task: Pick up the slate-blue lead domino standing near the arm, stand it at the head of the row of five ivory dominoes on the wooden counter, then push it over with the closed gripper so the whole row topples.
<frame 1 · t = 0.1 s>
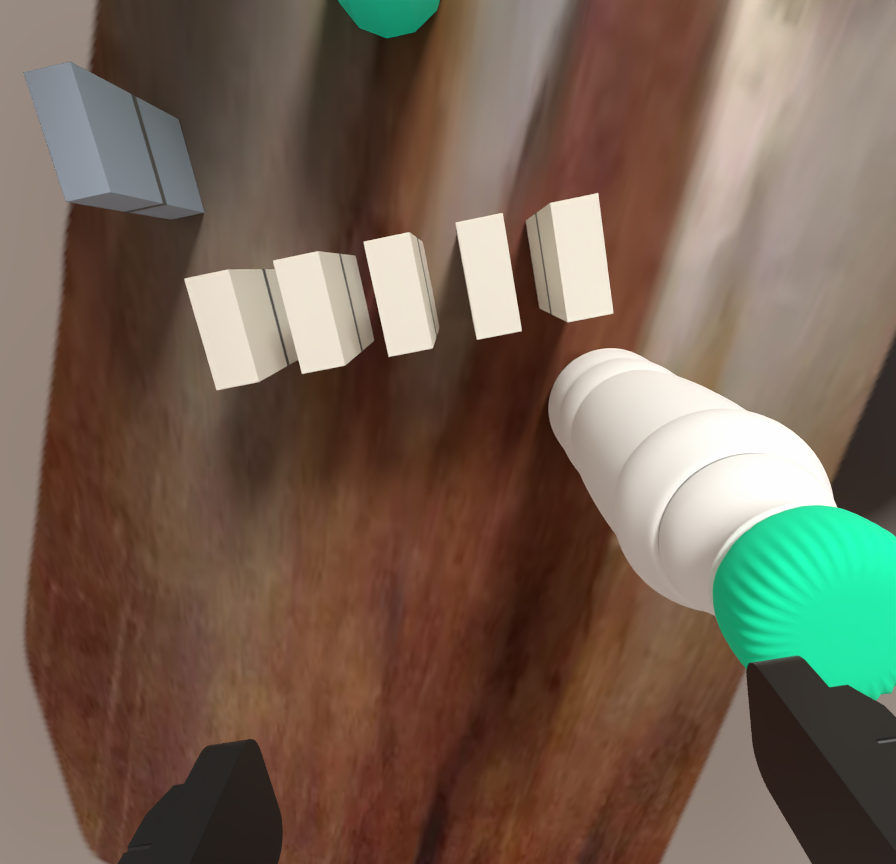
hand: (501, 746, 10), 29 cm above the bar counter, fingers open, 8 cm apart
domino 3: (348, 302, 37), on the bar counter
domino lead: (174, 170, 35), on the bar counter
domino 4: (414, 288, 37), on the bar counter
water bottle: (603, 403, 39), on the bar counter
domino 6: (549, 261, 36), on the bar counter
domino 5: (481, 275, 37), on the bar counter
domino 2: (283, 315, 37), on the bar counter
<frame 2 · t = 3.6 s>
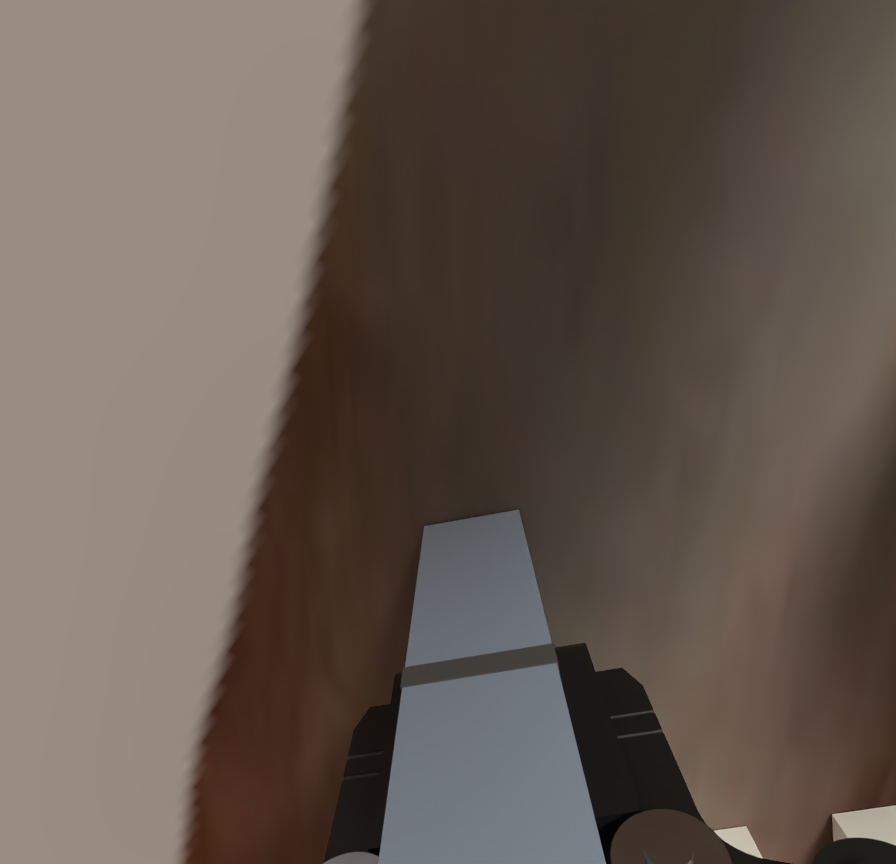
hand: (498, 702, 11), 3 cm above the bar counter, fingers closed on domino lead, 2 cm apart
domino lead: (492, 623, 14), on the bar counter, touching gripper
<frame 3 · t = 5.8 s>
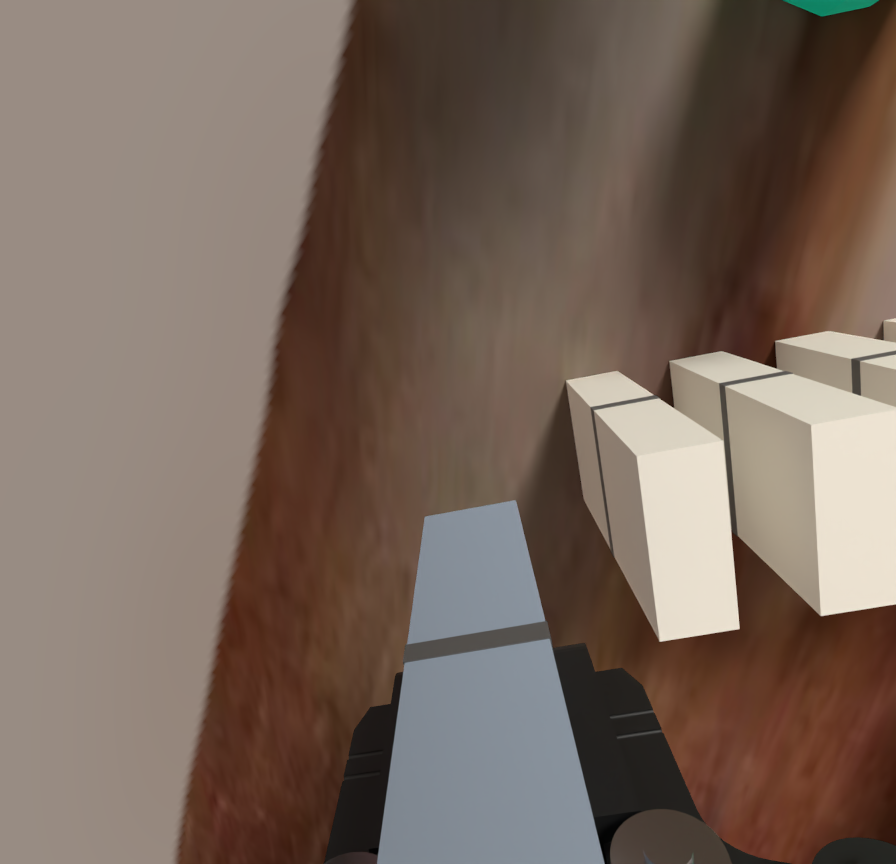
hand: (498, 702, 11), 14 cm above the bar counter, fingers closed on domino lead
domino 3: (701, 418, 25), on the bar counter
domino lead: (491, 610, 14), point 11 cm above the bar counter, touching gripper
domino 4: (805, 399, 24), on the bar counter
domino 2: (599, 436, 25), on the bar counter
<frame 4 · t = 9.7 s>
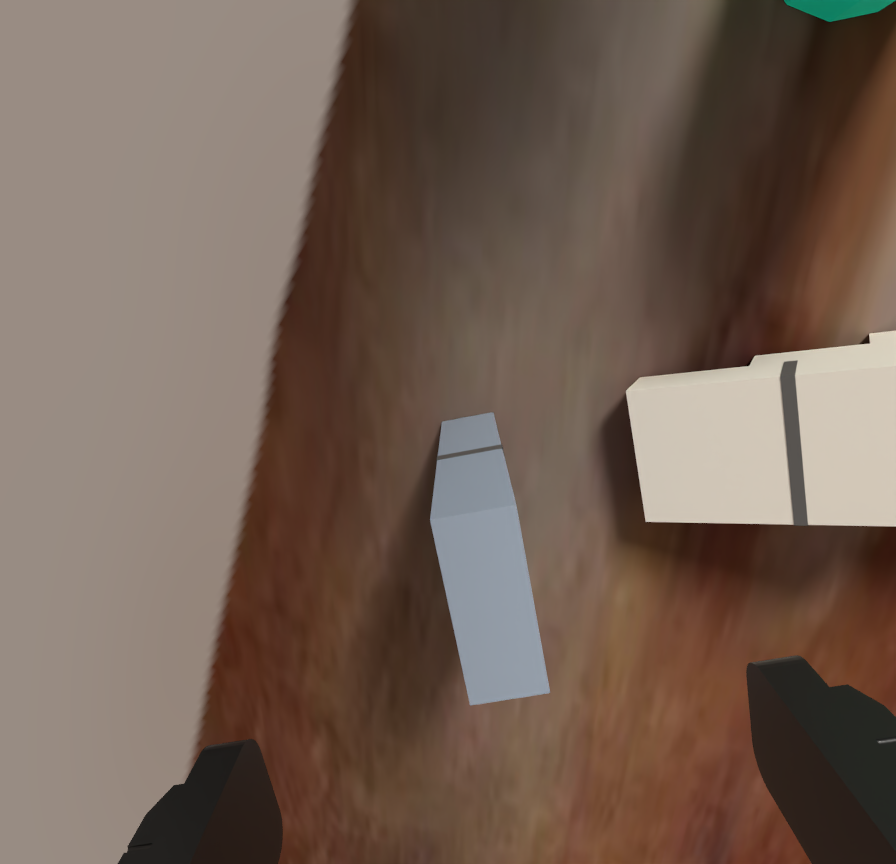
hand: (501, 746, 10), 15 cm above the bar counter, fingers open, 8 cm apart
domino 3: (758, 428, 23), point 1 cm above the bar counter, tilted 60°, touching domino 2, domino 4
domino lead: (479, 477, 25), on the bar counter
domino 2: (642, 448, 23), point 1 cm above the bar counter, tilted 61°, touching domino 3
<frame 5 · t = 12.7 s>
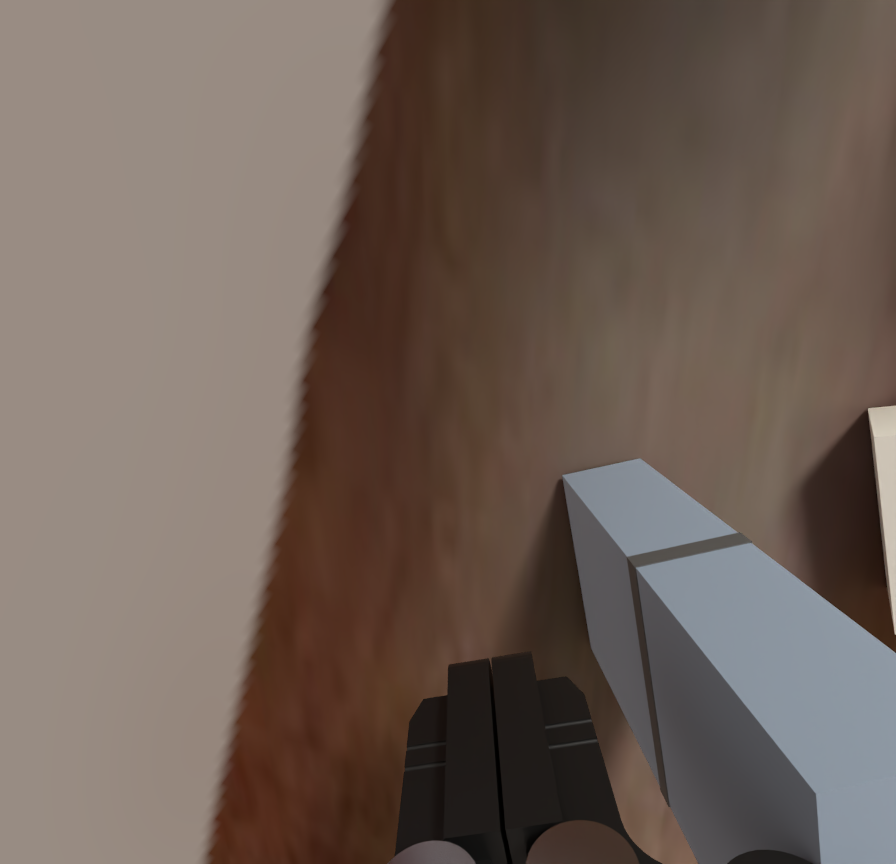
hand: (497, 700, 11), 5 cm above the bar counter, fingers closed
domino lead: (614, 556, 16), on the bar counter
domino 2: (881, 519, 15), point 1 cm above the bar counter, tilted 61°, touching domino 3
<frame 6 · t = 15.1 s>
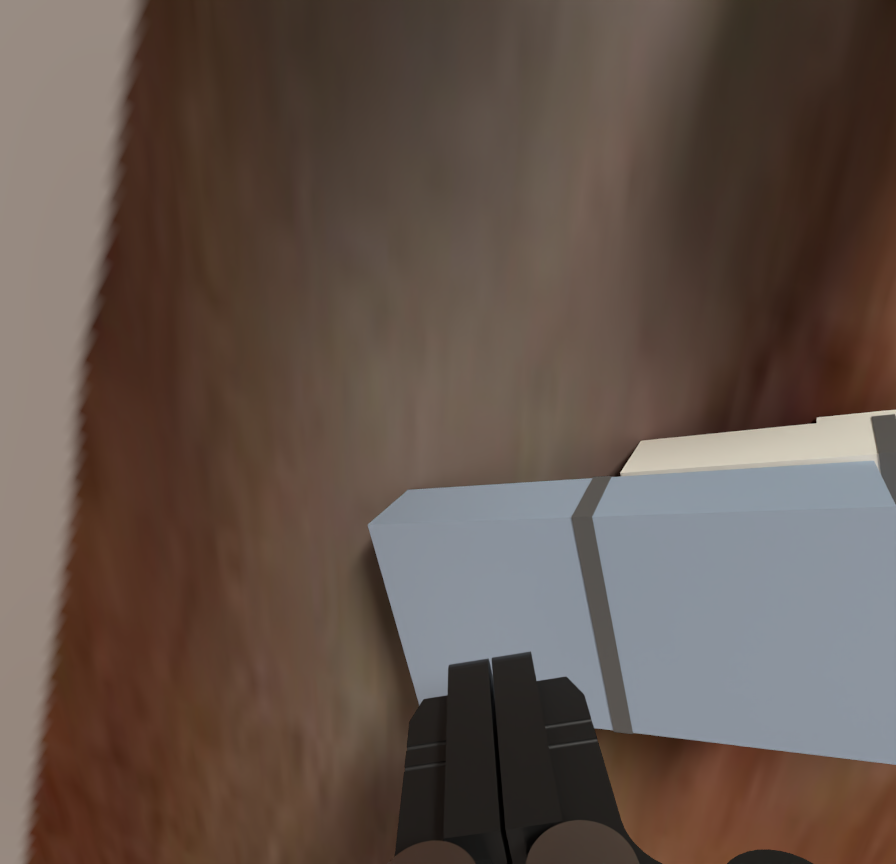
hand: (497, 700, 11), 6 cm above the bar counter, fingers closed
domino 3: (829, 527, 15), point 1 cm above the bar counter, tilted 61°, touching domino 2
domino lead: (413, 596, 16), point 1 cm above the bar counter, tilted 66°, touching domino 2
domino 2: (652, 549, 15), point 1 cm above the bar counter, tilted 61°, touching domino 3, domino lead
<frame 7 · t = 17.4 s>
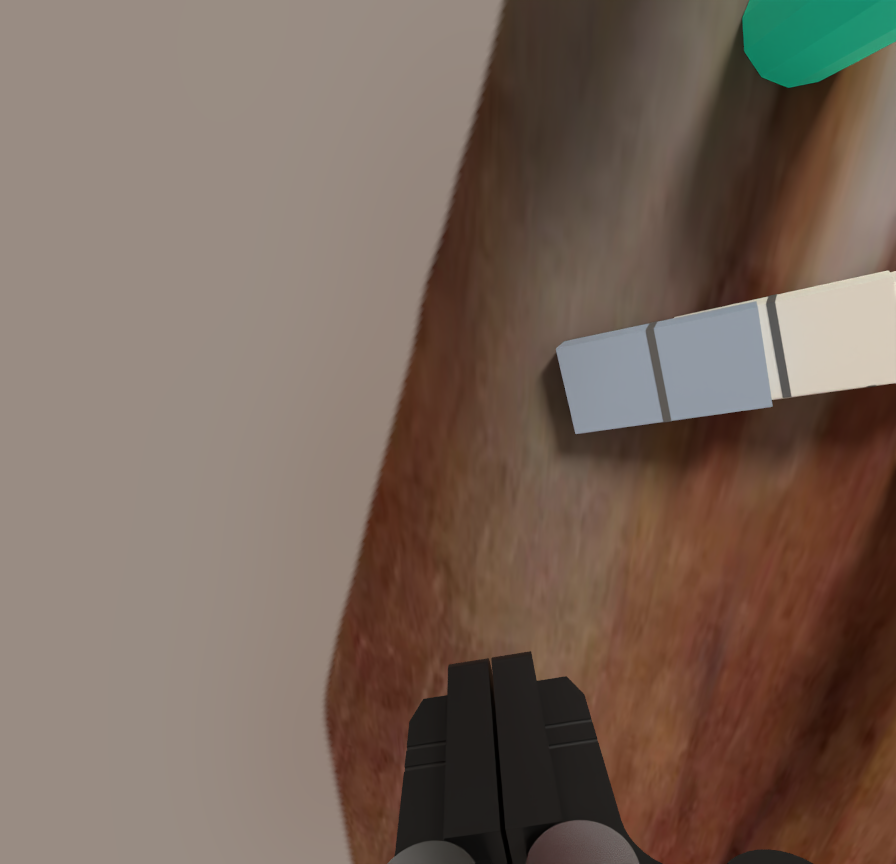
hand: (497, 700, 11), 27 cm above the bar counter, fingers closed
candle: (799, 24, 32), on the bar counter
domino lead: (569, 387, 36), point 1 cm above the bar counter, tilted 67°, touching domino 2
domino 2: (680, 363, 35), point 1 cm above the bar counter, tilted 61°, touching domino 3, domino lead
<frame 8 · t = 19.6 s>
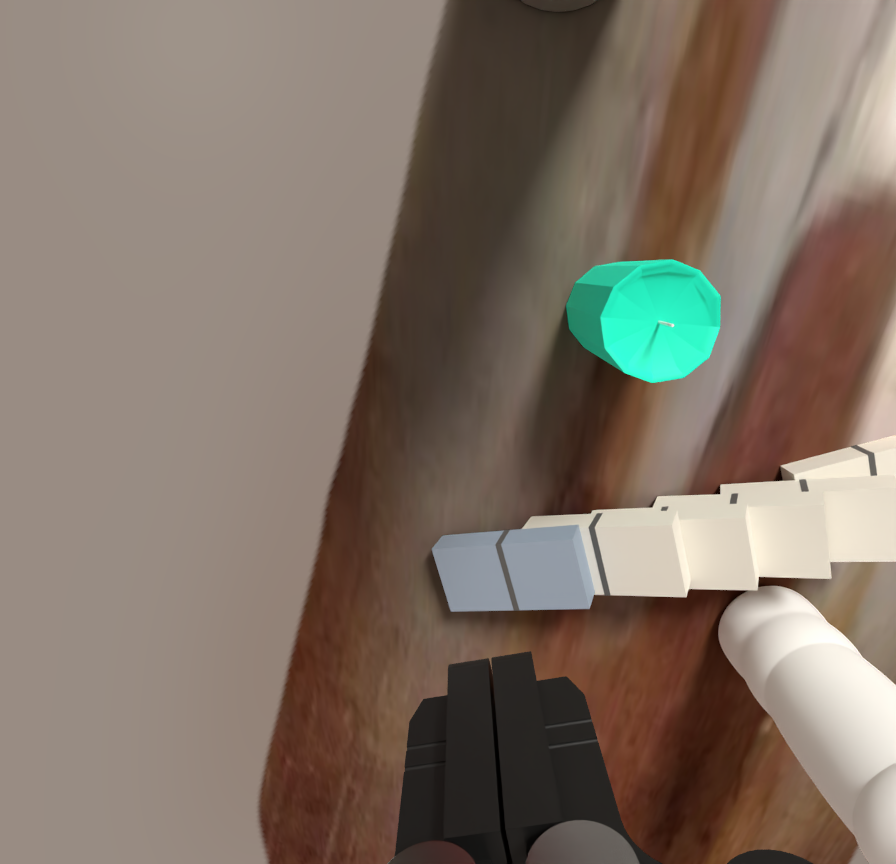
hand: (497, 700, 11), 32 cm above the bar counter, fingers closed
candle: (611, 309, 41), on the bar counter
domino 3: (596, 548, 44), point 1 cm above the bar counter, tilted 63°, touching domino 2, domino 4
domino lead: (446, 573, 45), point 1 cm above the bar counter, tilted 68°, touching domino 2
domino 4: (660, 535, 44), point 1 cm above the bar counter, tilted 63°, touching domino 3, domino 5
water bottle: (761, 623, 47), on the bar counter
domino 6: (792, 502, 43), point 1 cm above the bar counter, tilted 90°, touching domino 5
domino 5: (724, 523, 43), point 1 cm above the bar counter, tilted 67°, touching domino 4, domino 6
domino 2: (534, 554, 44), point 1 cm above the bar counter, tilted 63°, touching domino 3, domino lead
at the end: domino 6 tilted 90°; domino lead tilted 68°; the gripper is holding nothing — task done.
